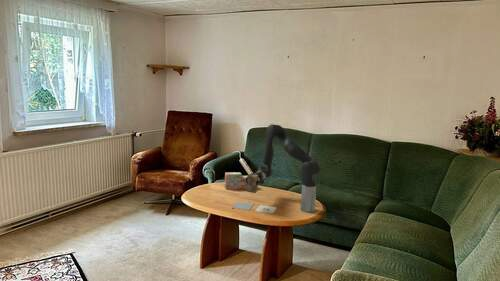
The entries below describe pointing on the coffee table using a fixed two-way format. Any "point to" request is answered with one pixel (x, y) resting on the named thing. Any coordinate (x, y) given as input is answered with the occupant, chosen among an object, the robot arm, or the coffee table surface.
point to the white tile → (266, 209)
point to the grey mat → (242, 206)
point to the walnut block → (252, 183)
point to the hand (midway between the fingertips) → (251, 183)
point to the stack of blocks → (235, 181)
